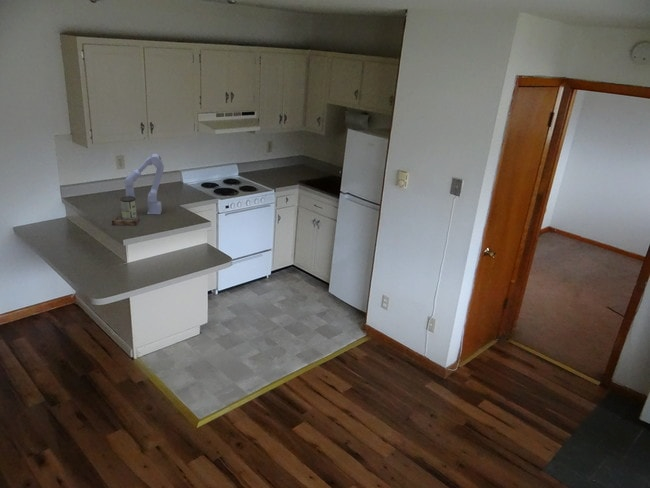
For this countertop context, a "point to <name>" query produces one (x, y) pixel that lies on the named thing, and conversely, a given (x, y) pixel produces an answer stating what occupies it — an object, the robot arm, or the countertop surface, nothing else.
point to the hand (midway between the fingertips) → (131, 211)
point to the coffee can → (128, 207)
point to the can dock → (125, 221)
